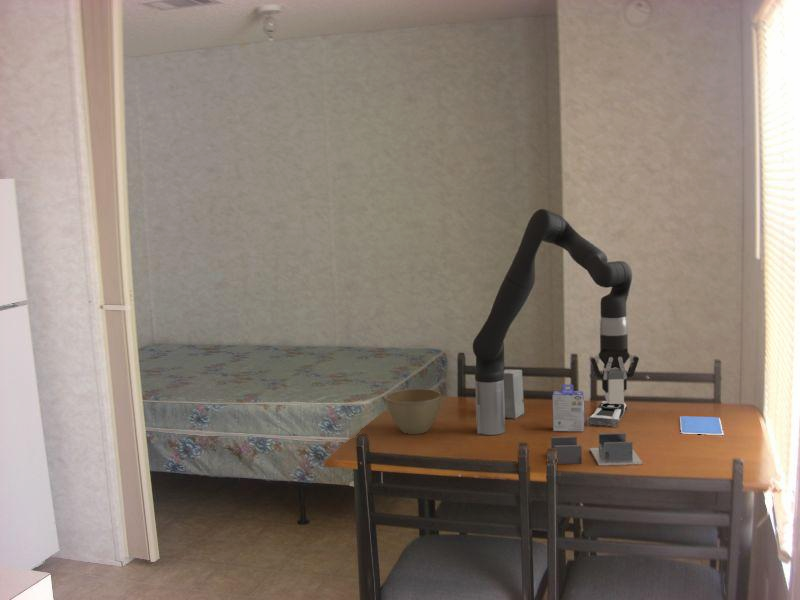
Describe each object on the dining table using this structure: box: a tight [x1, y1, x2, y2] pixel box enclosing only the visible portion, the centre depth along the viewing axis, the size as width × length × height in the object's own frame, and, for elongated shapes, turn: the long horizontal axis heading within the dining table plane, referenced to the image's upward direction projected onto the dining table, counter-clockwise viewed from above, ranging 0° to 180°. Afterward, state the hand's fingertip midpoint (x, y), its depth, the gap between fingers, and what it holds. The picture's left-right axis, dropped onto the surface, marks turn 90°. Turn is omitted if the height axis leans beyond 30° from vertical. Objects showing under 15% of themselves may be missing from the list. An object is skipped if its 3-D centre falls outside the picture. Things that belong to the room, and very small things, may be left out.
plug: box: [604, 368, 625, 404], centre depth 230 cm, size 4×6×9 cm, turn 177°
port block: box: [589, 432, 643, 466], centre depth 232 cm, size 12×14×6 cm
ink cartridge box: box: [551, 384, 585, 432], centre depth 261 cm, size 10×6×14 cm, turn 78°
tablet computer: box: [679, 415, 725, 436], centre depth 258 cm, size 19×13×1 cm, turn 162°
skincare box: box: [504, 368, 525, 420], centre depth 281 cm, size 8×7×16 cm
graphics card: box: [586, 400, 628, 428], centre depth 274 cm, size 10×3×25 cm
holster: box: [550, 435, 583, 465], centre depth 233 cm, size 7×9×5 cm
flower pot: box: [385, 388, 442, 435], centre depth 267 cm, size 18×18×12 cm
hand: (614, 391), depth 230 cm, fingers closed on plug, 4 cm apart
